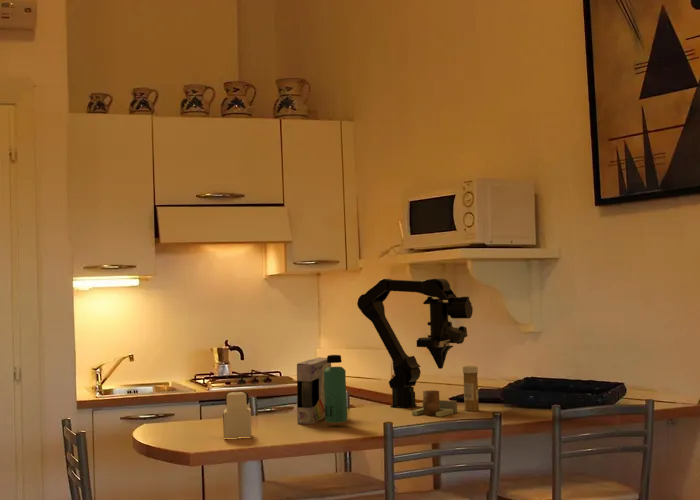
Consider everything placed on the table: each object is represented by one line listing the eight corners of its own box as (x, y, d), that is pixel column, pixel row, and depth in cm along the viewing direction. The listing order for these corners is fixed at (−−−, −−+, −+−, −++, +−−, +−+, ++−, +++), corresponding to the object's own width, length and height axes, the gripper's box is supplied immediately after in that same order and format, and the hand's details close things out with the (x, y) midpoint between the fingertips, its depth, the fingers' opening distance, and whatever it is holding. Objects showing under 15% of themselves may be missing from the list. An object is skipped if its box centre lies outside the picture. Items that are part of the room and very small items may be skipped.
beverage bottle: (351, 424, 272) (349, 353, 272) (343, 428, 266) (341, 355, 266) (329, 424, 274) (327, 353, 275) (321, 427, 268) (319, 355, 268)
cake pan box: (311, 425, 274) (309, 362, 274) (294, 424, 275) (293, 362, 276) (333, 415, 292) (331, 357, 292) (318, 415, 293) (316, 357, 294)
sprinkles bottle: (482, 410, 294) (480, 366, 294) (470, 411, 291) (469, 367, 292) (472, 408, 297) (470, 365, 298) (461, 410, 295) (459, 366, 295)
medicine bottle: (224, 435, 259) (223, 390, 259) (251, 434, 259) (250, 389, 260) (223, 440, 252) (222, 393, 252) (251, 438, 252) (250, 392, 253)
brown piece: (420, 415, 286) (420, 392, 286) (428, 413, 290) (427, 390, 291) (435, 416, 284) (434, 392, 284) (442, 414, 288) (441, 390, 288)
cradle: (411, 414, 287) (411, 410, 287) (424, 411, 294) (424, 407, 294) (441, 416, 282) (440, 412, 282) (453, 413, 289) (453, 409, 289)
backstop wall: (422, 411, 295) (422, 399, 295) (425, 410, 297) (424, 399, 297) (455, 413, 289) (454, 401, 289) (457, 412, 291) (456, 400, 291)
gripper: (446, 320, 289) (447, 372, 289) (476, 317, 304) (477, 366, 304) (415, 320, 296) (416, 371, 295) (445, 317, 311) (447, 365, 310)
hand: (440, 368), depth 301 cm, fingers closed
